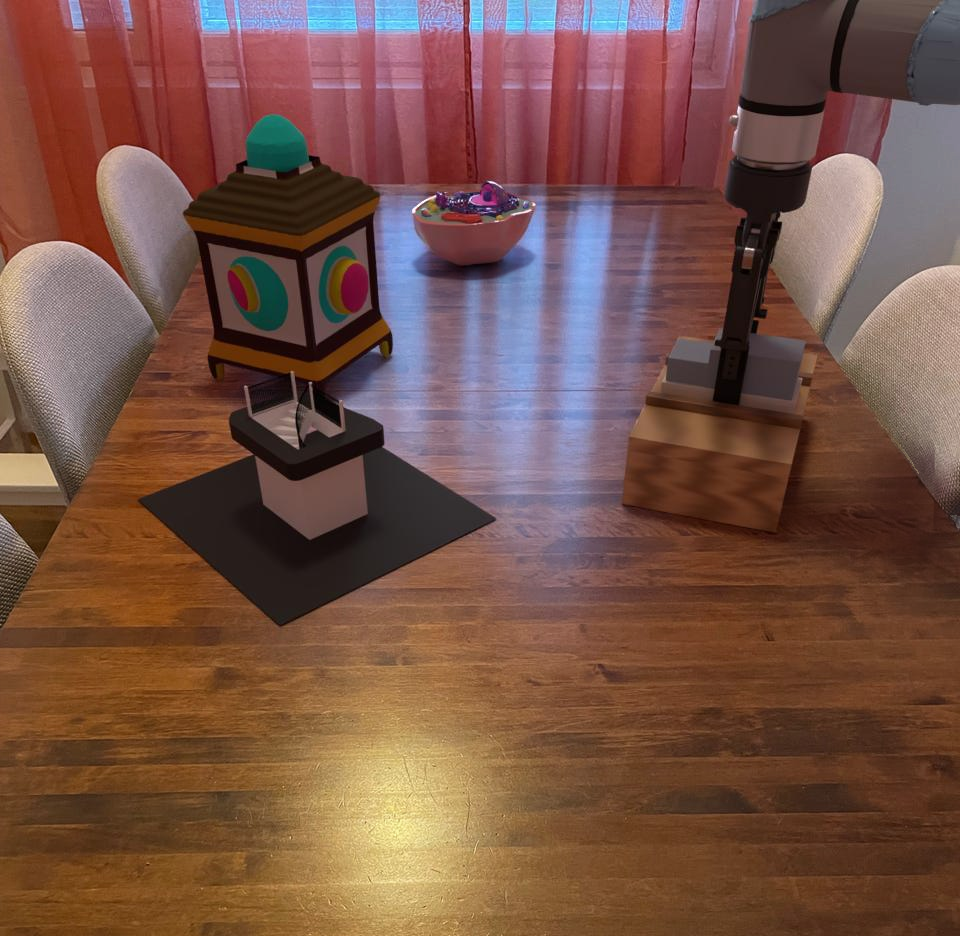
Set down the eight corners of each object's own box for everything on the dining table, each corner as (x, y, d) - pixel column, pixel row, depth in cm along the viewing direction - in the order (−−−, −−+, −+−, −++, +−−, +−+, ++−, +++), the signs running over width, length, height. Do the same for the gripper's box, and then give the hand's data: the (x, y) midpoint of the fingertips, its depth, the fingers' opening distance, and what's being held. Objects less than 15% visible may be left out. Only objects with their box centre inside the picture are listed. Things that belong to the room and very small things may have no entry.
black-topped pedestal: (496, 519, 101) (498, 400, 93) (280, 626, 88) (258, 500, 79) (340, 421, 117) (329, 313, 109) (137, 500, 104) (106, 383, 95)
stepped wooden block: (803, 418, 118) (819, 346, 112) (775, 533, 99) (793, 454, 93) (671, 397, 122) (680, 327, 116) (621, 504, 103) (629, 427, 98)
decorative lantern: (408, 353, 132) (395, 104, 112) (325, 416, 118) (294, 146, 99) (286, 326, 139) (254, 87, 119) (195, 382, 125) (141, 124, 106)
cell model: (395, 253, 161) (391, 180, 154) (501, 234, 168) (502, 163, 161) (441, 288, 150) (439, 210, 142) (553, 265, 157) (556, 190, 149)
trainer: (799, 390, 106) (811, 340, 102) (793, 415, 101) (805, 363, 98) (671, 371, 109) (678, 321, 106) (660, 394, 105) (666, 343, 101)
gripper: (745, 130, 98) (710, 350, 113) (713, 182, 84) (678, 425, 99) (823, 136, 96) (777, 359, 111) (802, 191, 82) (753, 437, 97)
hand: (730, 390), depth 105 cm, fingers closed on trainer, 6 cm apart
